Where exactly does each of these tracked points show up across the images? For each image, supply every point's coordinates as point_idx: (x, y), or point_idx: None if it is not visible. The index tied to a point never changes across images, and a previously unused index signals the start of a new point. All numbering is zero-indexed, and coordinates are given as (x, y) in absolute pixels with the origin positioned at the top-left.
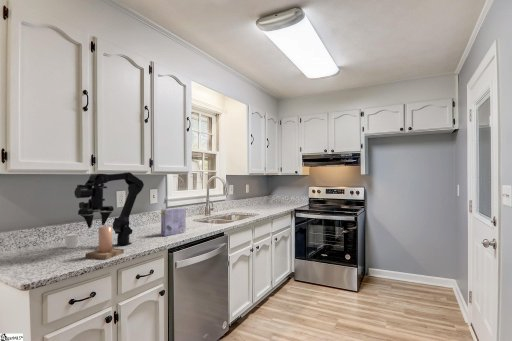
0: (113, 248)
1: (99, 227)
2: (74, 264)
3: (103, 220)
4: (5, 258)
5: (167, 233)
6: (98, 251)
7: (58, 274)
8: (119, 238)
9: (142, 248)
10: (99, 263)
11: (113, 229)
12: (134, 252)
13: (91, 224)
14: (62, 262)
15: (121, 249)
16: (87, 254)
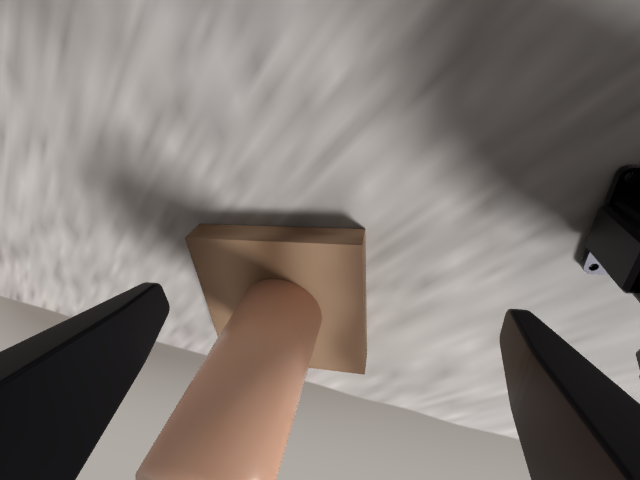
0: (360, 317)
1: (154, 468)
2: (106, 261)
3: (543, 440)
4: None
5: None
6: (260, 277)
7: (23, 296)
8: (626, 269)
9: (500, 396)
10: (181, 345)
11: None
12: (394, 391)
13: (133, 373)
14: (75, 171)
15: (353, 367)
16: (192, 249)
